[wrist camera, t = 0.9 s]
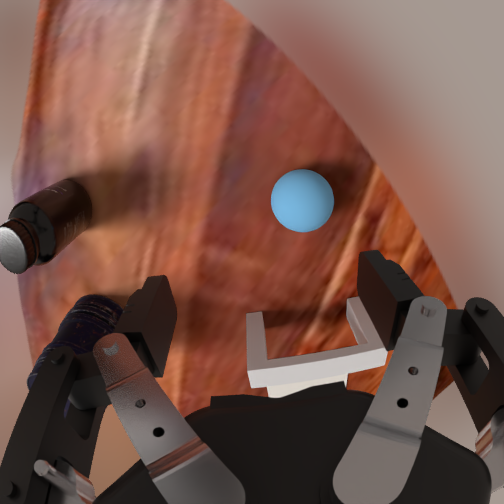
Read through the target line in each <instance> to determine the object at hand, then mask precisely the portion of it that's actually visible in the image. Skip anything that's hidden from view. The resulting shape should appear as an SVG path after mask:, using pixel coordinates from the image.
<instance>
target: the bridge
mask: <svg viewBox="0 0 504 504" xmlns="http://www.w3.org/2000/svg"><path fill="white" fill-rule="evenodd" d="M346 317H347V319H348V322H349V324H350V326H351V329H352V331H353V333H354V336H355V338H356V340H357V343H358V345H357V346H352V347H347V348H341V349H336V350H331V351H325V352H319V353H313V354H307V355H301V356H294V357H287V358H280V359H272V360H268V359H267V348H266V337H265V328H264V321H263V314H262V311H261V312H253V313H246V330H247V372H248V376H249V380H250V384H251V388H258V387H267V386H275V385H283V384H290V383H297V382H304V381H310V380H316V379H322V378H327V377H333V376H338V375H343V374H348V373H352V372H357V371H362V370H366V369H370V368H375V367H379V366H383V365H385V361H386V357H387V352H388V351H386V349H385V347H384V345H383V343H382V341H381V339H380V337H379V335H378V333H377V331H376V329H375V327H374V325H373V323H372V321H371V319H370V317H369V315H368V313H367V311H366V310H365V308H364V306H363V304H362V302H361V300H360V298H359V297H353V298H347V311H346Z"/></svg>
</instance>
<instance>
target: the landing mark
mask: <svg viewBox="0 0 504 504" xmlns="http://www.w3.org/2000/svg"><path fill="white" fill-rule="evenodd" d="M345 348H347V347H345ZM340 349H341V348H340ZM335 350H336V349H335ZM329 351H331V350H329ZM324 352H325V351H324ZM318 353H319V352H318ZM312 354H313V353H312ZM306 355H307V354H306ZM299 356H301V355H299ZM293 357H294V356H293ZM286 358H287V357H286ZM278 359H280V358H278ZM271 360H272V359H271ZM347 376H348V374H343V375H338V376H333V377H327V378H322V379H316V380H310V381H304V382H297V383H290V384H283V385H275V386H267V390H268V395H269V397H272V398H280V397H283V396H286V395H289V394H292V393H295V392H298V391H300V390H303V389H306V388H308V387H311V386H316V385H322V384H328V383H334V382H339V381H344V383H345V386H346V384H347Z"/></svg>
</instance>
